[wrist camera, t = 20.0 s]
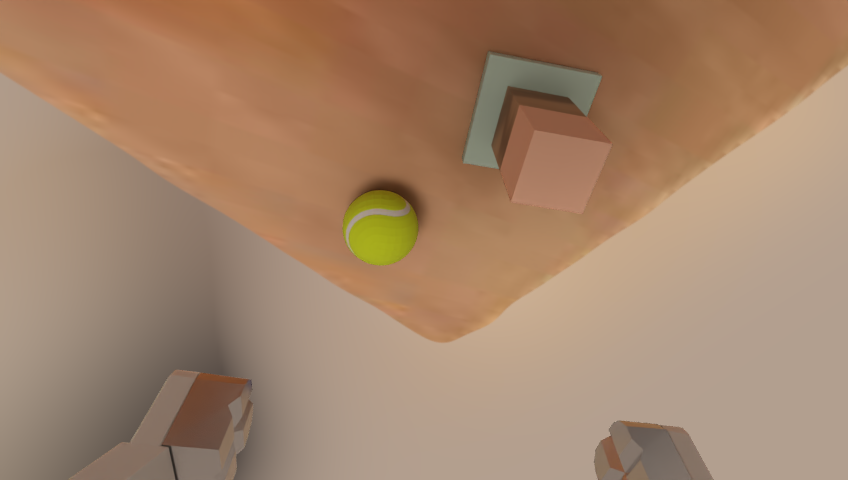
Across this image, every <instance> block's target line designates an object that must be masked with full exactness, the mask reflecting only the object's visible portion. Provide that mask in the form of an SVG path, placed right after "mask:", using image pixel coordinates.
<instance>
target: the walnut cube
mask: <svg viewBox="0 0 848 480" xmlns="http://www.w3.org/2000/svg"><path fill="white" fill-rule="evenodd" d="M519 105H523V106H529V107H534V108H540V109H545V110H550V111H556V112H561V113H567V114H572V115H577V116H583V117H586V116H585V115H584V114H583V112H582V111H581V110H580V109H579V108H578V107H577V106H576V105H575V104H574V103H573V102H572V101H571V100H570V99H569V98H568V97H564V96H559V95H553V94H548V93H543V92H537V91H532V90H527V89H522V88H516V87H511V86H508V87H507V90H506V94H505V98H504V101H503V105H502V108H501V112H500V116H499V119H498V123H497V126H496V130H495V133H494V137H493V141H492V144H491V146H492V149H493V152H494V155H495V158H496V161H497V164H498V167H499V170H500V168H501V165H502V161H503V158H504V155H505V151H506V148H507V145H508V141H509V138H510V135H511V131H512V128H513V125H514V121H515V118H516V115H517V111H518V108H519Z"/></svg>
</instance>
